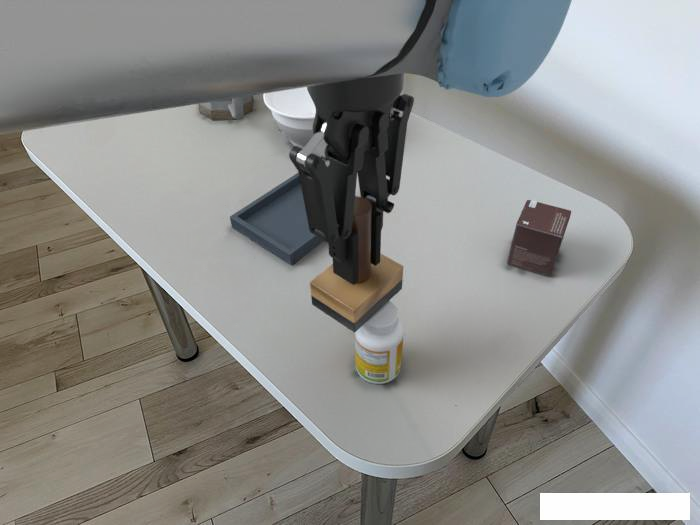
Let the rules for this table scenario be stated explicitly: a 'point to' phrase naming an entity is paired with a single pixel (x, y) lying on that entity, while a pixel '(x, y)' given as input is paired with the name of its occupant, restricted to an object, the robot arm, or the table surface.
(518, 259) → the box
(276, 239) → the tray
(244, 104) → the mug
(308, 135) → the bowl
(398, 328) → the supplement bottle
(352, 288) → the peg on wooden base
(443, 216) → the table surface
